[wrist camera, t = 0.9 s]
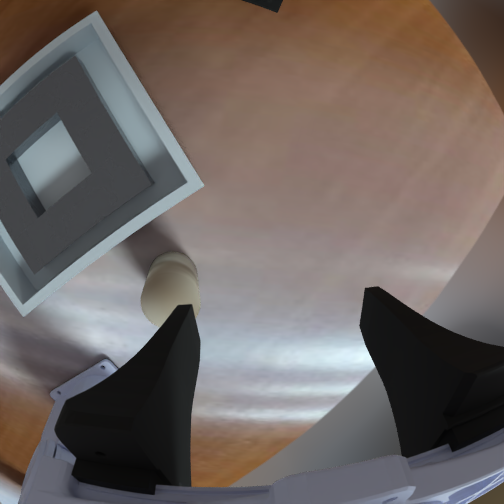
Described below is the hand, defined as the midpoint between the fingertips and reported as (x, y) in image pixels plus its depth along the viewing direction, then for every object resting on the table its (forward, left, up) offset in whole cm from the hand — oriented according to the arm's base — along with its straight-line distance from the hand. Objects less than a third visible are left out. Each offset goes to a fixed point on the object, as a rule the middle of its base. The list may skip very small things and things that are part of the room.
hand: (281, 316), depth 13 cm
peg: (-6, 0, -14) cm, 15 cm away
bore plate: (-9, +13, -14) cm, 21 cm away
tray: (-9, +13, -14) cm, 21 cm away
